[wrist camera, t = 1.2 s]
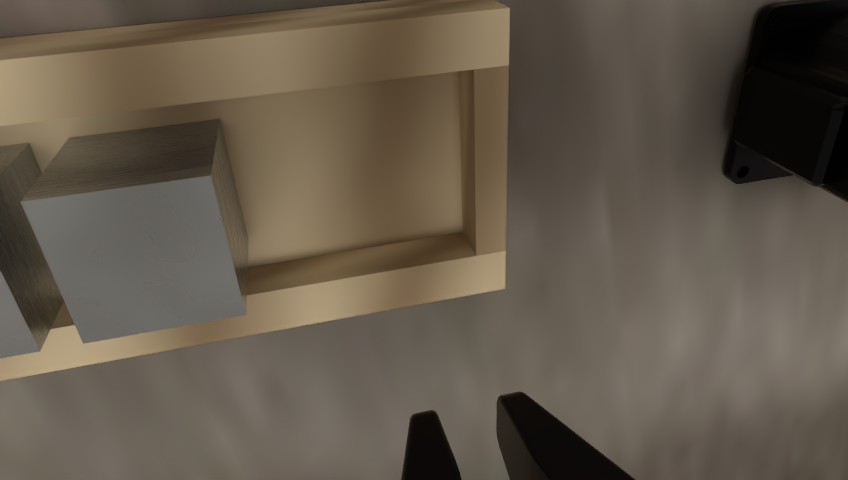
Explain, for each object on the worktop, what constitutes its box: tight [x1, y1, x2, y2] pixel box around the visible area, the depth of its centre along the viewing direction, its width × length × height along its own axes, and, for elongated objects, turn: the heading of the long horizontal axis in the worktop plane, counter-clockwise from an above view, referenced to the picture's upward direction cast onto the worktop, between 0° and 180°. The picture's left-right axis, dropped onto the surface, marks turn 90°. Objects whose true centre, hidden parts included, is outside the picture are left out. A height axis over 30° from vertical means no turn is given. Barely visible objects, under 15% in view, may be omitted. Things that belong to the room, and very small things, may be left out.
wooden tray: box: [0, 0, 510, 381], centre depth 18 cm, size 18×9×3 cm, turn 93°
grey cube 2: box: [21, 119, 249, 344], centre depth 16 cm, size 4×4×4 cm
